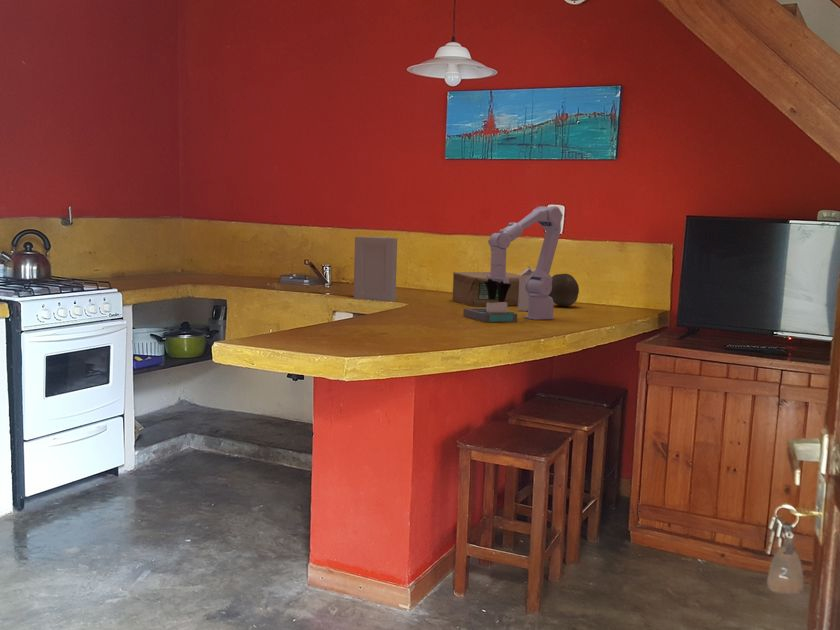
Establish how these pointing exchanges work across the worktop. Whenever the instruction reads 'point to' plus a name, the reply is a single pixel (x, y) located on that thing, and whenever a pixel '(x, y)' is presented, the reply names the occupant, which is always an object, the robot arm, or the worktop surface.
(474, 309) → the slot rack
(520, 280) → the milk carton
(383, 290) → the grooved grey upright panel
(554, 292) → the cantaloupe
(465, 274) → the paper package
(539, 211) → the robot arm
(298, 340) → the worktop surface
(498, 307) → the grey slab
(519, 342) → the worktop surface
